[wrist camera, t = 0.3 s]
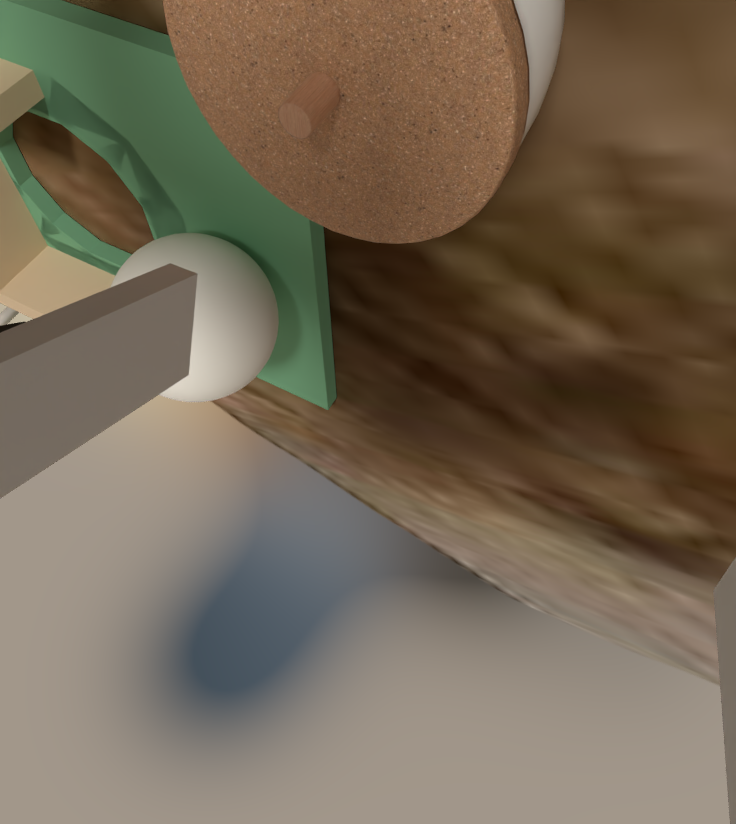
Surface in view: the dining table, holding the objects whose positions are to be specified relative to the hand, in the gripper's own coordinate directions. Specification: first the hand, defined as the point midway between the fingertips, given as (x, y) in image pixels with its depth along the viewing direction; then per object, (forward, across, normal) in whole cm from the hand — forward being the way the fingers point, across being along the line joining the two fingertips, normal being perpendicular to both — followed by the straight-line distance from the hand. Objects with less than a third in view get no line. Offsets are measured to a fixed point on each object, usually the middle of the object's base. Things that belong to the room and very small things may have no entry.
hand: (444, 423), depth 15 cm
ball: (+17, -17, -9) cm, 25 cm away
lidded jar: (+13, -6, +9) cm, 17 cm away
